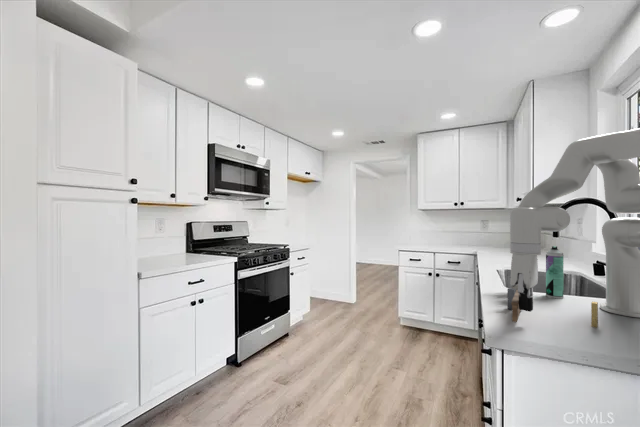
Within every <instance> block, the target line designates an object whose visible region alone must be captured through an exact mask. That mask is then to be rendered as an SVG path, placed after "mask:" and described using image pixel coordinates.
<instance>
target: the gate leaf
mask: <svg viewBox="0 0 640 427" xmlns="http://www.w3.org/2000/svg"><path fill="white" fill-rule="evenodd" d="M511 305H512V310H511V311H512V312H511V318H512V319H511V321H512V322H514V323H518V322H519V316H520V314H521V311H522V310H520V309H519V293H518V289H516V292H515V295H514V297H513V300H512V302H511Z"/></svg>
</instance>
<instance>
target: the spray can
mask: <svg viewBox="0 0 640 427" xmlns="http://www.w3.org/2000/svg"><path fill="white" fill-rule="evenodd" d="M545 297H548V298H551V299H557V300H558V299H561V300H562V299H564V253H563V252H562V251H560V249H558V246H556V245H552V246H551V248H550V249H549V250H548V251H546V254H545Z"/></svg>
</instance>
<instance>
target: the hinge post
mask: <svg viewBox="0 0 640 427" xmlns="http://www.w3.org/2000/svg"><path fill="white" fill-rule="evenodd" d="M515 292H516V289H514V288H512V287H508V288H507V309H508V310H511V311H512V305H511V302H512V300H513V297H514V295H515Z"/></svg>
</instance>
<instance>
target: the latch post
mask: <svg viewBox="0 0 640 427" xmlns="http://www.w3.org/2000/svg"><path fill="white" fill-rule="evenodd" d="M590 306H591V309H590V310H591V311H590V312H591V320H590V321H591V322H590V323H591V325H590V326H591V327H592V328H596V329H598V327H599V302H597V301H592V302H591V303H590Z"/></svg>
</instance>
